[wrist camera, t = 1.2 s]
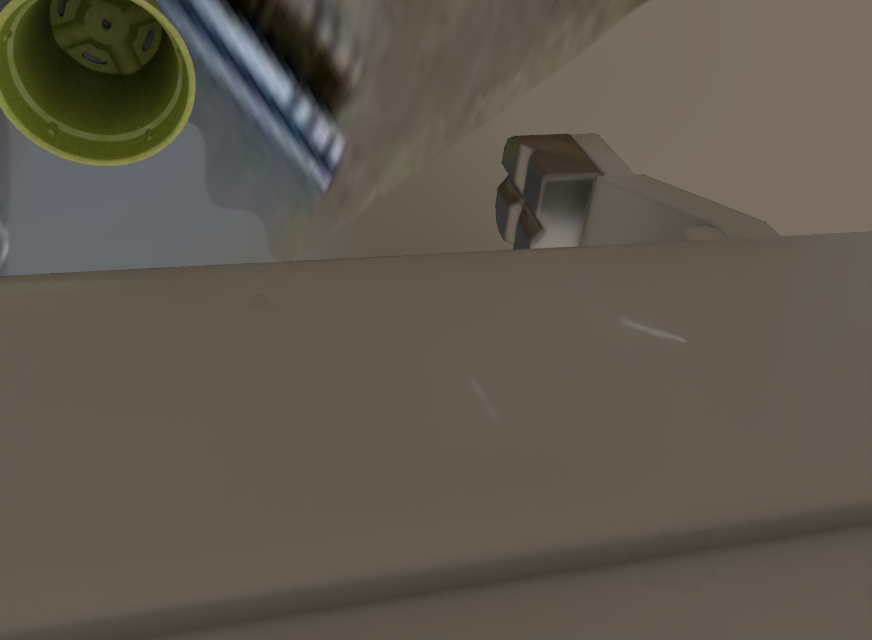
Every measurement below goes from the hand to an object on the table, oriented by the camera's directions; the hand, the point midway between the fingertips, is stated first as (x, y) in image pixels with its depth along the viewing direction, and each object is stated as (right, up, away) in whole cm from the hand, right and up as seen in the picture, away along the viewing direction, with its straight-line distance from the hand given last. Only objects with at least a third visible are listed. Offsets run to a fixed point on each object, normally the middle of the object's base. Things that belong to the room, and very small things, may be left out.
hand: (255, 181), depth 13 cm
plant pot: (-16, +15, +34) cm, 40 cm away
